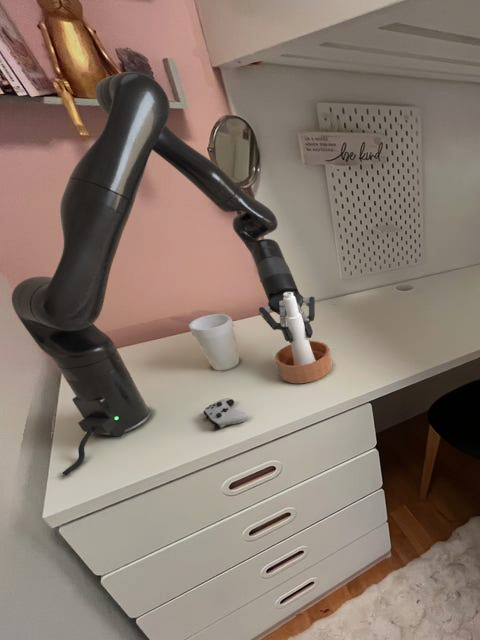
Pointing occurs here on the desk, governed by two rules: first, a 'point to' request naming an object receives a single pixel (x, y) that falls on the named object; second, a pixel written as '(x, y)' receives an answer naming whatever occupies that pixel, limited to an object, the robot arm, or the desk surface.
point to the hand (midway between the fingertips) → (300, 339)
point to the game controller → (224, 413)
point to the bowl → (304, 371)
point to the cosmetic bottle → (297, 332)
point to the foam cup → (216, 340)
